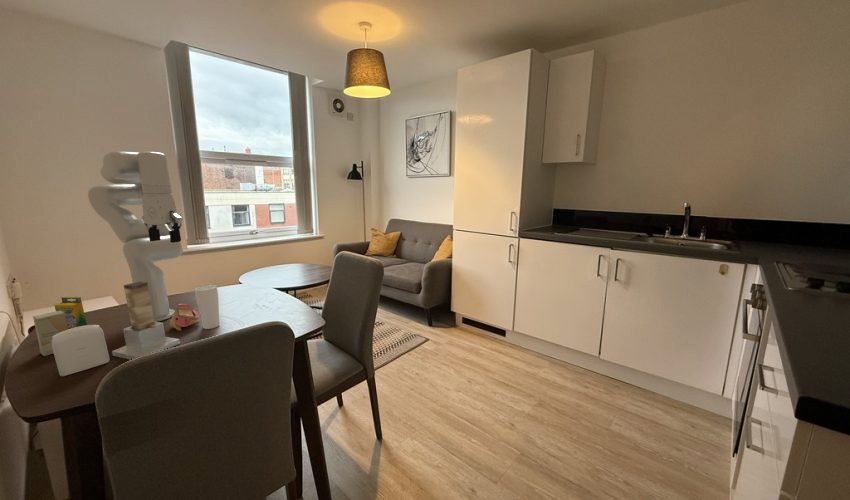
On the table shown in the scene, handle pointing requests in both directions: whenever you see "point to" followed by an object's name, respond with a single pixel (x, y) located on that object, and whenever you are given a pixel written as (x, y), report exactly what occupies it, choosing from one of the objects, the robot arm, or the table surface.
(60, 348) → the photo printer
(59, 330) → the skincare box
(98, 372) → the table surface
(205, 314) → the drinking glass
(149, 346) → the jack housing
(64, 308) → the crayon box
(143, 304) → the column
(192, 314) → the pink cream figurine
